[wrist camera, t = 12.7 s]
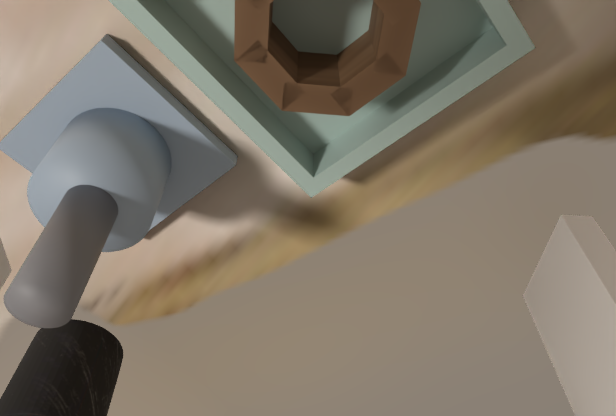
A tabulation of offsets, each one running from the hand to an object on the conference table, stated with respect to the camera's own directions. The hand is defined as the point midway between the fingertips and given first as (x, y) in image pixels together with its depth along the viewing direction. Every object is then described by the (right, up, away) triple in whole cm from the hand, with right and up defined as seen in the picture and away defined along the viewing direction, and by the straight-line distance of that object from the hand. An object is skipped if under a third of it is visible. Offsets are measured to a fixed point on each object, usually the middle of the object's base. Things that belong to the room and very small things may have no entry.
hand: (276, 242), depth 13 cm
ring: (+1, +11, +14) cm, 18 cm away
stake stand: (-11, +4, +20) cm, 23 cm away
